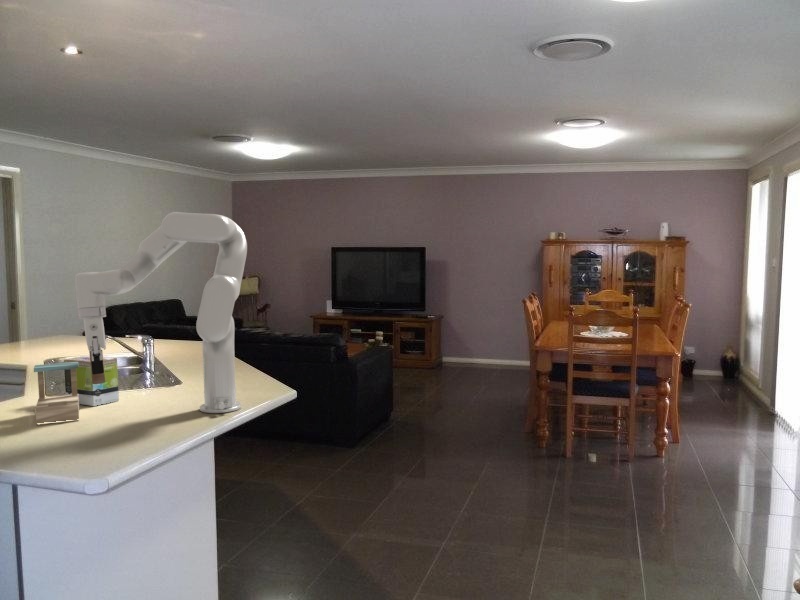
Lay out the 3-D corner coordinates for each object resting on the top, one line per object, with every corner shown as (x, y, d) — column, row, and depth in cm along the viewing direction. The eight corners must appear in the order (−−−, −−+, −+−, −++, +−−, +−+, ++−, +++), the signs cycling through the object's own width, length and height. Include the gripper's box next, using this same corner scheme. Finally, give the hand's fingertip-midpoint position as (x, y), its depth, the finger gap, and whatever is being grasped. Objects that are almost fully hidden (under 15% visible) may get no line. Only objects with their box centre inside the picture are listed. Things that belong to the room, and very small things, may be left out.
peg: (105, 382, 202) (102, 350, 201) (92, 384, 200) (89, 351, 199) (105, 381, 205) (102, 349, 204) (92, 382, 203) (89, 350, 202)
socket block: (80, 420, 196) (77, 369, 195) (34, 425, 191) (31, 373, 189) (80, 409, 210) (78, 361, 209) (37, 413, 205) (34, 365, 204)
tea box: (120, 401, 221) (118, 357, 220) (93, 407, 213) (90, 361, 211) (92, 396, 229) (89, 354, 228) (64, 402, 220) (62, 358, 219)
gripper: (106, 313, 195) (112, 375, 196) (104, 310, 210) (110, 367, 211) (78, 316, 192) (84, 378, 193) (78, 312, 207) (84, 370, 208)
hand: (98, 372), depth 202 cm, fingers closed on peg, 3 cm apart
